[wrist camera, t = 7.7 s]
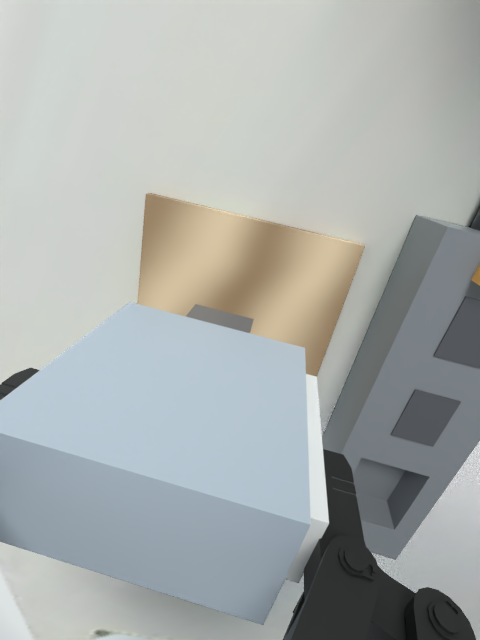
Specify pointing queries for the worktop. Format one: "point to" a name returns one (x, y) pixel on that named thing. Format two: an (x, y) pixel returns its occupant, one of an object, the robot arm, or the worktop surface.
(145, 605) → the worktop surface
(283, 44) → the worktop surface
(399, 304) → the power strip
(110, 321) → the block
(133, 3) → the worktop surface
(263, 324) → the tan flat square block
